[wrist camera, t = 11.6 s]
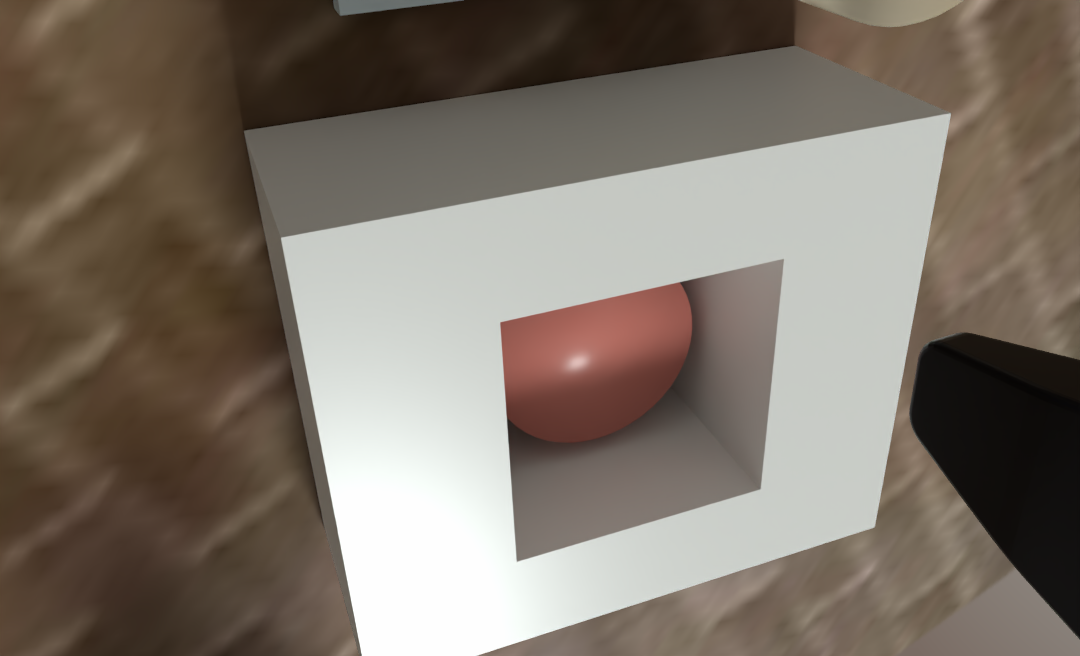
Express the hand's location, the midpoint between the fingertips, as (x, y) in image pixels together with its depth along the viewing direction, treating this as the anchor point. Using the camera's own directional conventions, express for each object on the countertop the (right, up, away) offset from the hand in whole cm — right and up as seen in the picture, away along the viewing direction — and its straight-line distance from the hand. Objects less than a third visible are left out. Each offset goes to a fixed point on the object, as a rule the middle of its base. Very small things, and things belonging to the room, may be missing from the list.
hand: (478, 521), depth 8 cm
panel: (+1, +2, +15) cm, 15 cm away
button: (+1, +2, +14) cm, 14 cm away
